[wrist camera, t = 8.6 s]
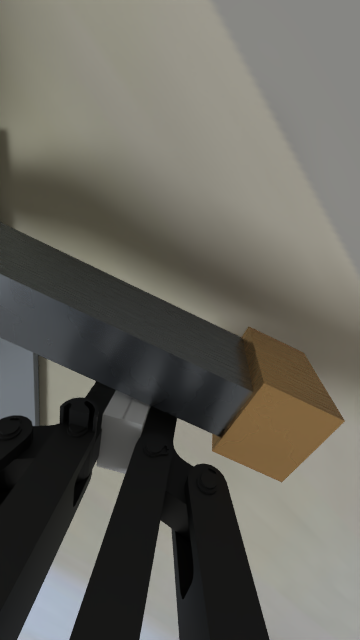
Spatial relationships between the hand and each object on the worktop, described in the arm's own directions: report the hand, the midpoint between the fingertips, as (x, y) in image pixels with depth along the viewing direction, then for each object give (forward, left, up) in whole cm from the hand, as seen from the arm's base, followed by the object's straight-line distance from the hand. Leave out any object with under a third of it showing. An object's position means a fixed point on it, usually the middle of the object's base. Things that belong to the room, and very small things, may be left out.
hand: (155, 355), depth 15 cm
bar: (-4, -5, +1) cm, 7 cm away
